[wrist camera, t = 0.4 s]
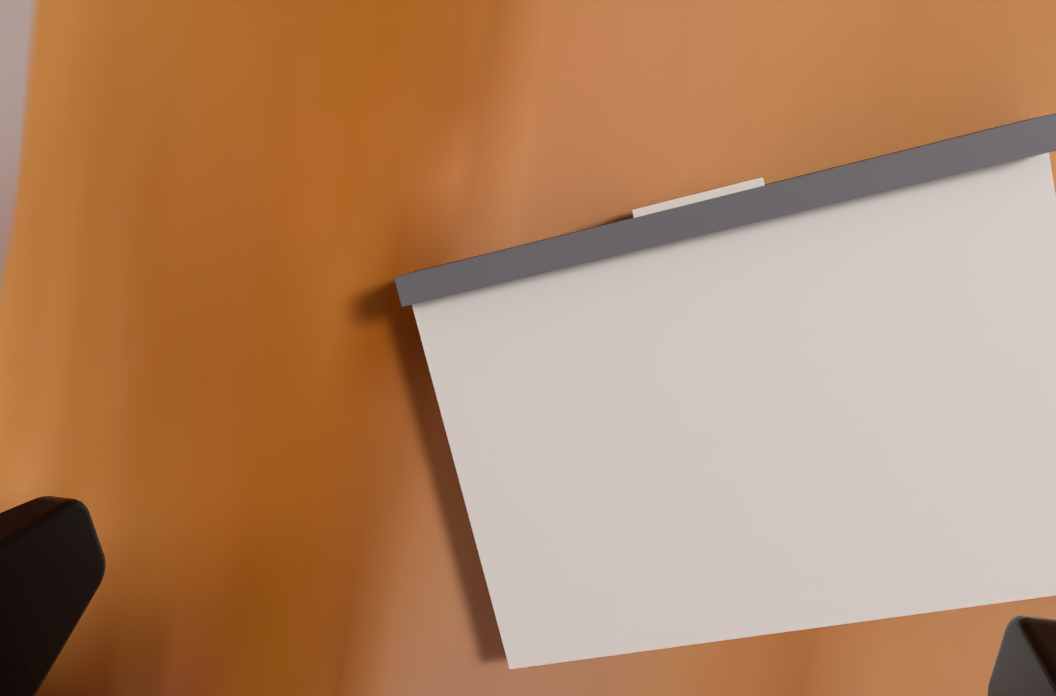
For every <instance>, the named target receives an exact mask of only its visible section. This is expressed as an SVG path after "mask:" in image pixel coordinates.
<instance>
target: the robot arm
mask: <svg viewBox="0 0 1056 696" xmlns="http://www.w3.org/2000/svg"><path fill="white" fill-rule="evenodd" d="M104 572H105V557H104V554H103V551H102V548H101V545H100V542H99V539H98V536H97V533H96V530H95V528H94V525H93V522H92V519H91V516H90V513H89V511H88V509H87V507H86V506H85V505H84V504H83V503H82V502H81V501H78V500H76V499H70V498H62V497H53V496H44V497H39V498H36V499H34V500H31V501H29V502H26V503H24V504H21V505H19V506H16V507H14V508H12V509H9V510H7V511H4V512H2V513H0V696H35V694H36V693H37V691H38V689H39V688H40V686H41V684H42V683H43V681H44V679H45V677H46V676H47V674H48V672H49V671H50V669H51V667H52V665H53V664H54V662H55V660H56V659H57V657H58V655H59V654H60V652H61V650H62V648H63V647H64V645H65V643H66V642H67V640H68V638H69V636H70V635H71V633H72V631H73V630H74V628H75V626H76V625H77V623H78V621H79V619H80V618H81V616H82V614H83V613H84V611H85V609H86V607H87V606H88V604H89V602H90V601H91V599H92V597H93V596H94V594H95V592H96V590H97V589H98V587H99V585H100V583H101V581H102V579H103V576H104ZM988 696H1056V620H1055V619H1047V618H1039V617H1031V616H1017V617H1014V618H1012V619H1011V621H1010V622H1009V623H1008V625H1007V627H1006V630H1005V633H1004V636H1003V640H1002V643H1001V646H1000V649H999V653H998V656H997V659H996V662H995V666H994V669H993V672H992V675H991V679H990V682H989V688H988Z"/></svg>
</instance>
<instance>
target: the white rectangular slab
mask: <svg viewBox="0 0 1056 696" xmlns="http://www.w3.org/2000/svg"><path fill="white" fill-rule="evenodd" d="M1052 151H1056V113H1055V114H1051V115H1046V116H1041V117H1037V118H1032V119H1028V120H1023V121H1019V122H1015V123H1011V124H1007V125H1003V126H999V127H995V128H991V129H987V130H983V131H979V132H975V133H971V134H967V135H963V136H959V137H955V138H951V139H947V140H943V141H939V142H935V143H931V144H927V145H923V146H919V147H915V148H910V149H906V150H902V151H898V152H894V153H890V154H886V155H882V156H878V157H874V158H870V159H866V160H862V161H858V162H854V163H850V164H846V165H842V166H838V167H834V168H830V169H826V170H822V171H818V172H814V173H810V174H806V175H802V176H798V177H794V178H790V179H786V180H782V181H778V182H773V183H769V184H765V185H764V180H763V177H762V178H757V179H753V180H750V181H746V182H742V183H738V184H734V185H730V186H726V187H722V188H718V189H714V190H710V191H706V192H702V193H698V194H694V195H690V196H686V197H682V198H678V199H674V200H670V201H666V202H662V203H658V204H654V205H650V206H646V207H642V208H638V209H634V210H632V212H633V216H634V217H632V218H628V219H624V220H620V221H616V222H612V223H608V224H604V225H600V226H596V227H592V228H588V229H584V230H580V231H576V232H572V233H568V234H564V235H560V236H556V237H552V238H548V239H544V240H540V241H536V242H532V243H528V244H524V245H520V246H516V247H512V248H508V249H504V250H500V251H495V252H491V253H487V254H483V255H479V256H475V257H471V258H467V259H463V260H459V261H455V262H451V263H447V264H443V265H439V266H435V267H431V268H427V269H423V270H419V271H415V272H411V273H408V274H405V275H401V276H398V277H394V280H395V283H396V287H397V291H398V294H399V298H400V302H401V305H402V307H404V306H409V305H412V308H413V311H414V315H415V319H416V322H417V326H418V330H419V334H420V337H421V341H422V345H423V348H424V352H425V356H426V360H427V363H428V367H429V371H430V375H431V378H432V382H433V386H434V389H435V393H436V397H437V401H438V404H439V408H440V412H441V415H442V419H443V423H444V427H445V430H446V434H447V438H448V441H449V445H450V449H451V453H452V456H453V460H454V464H455V468H456V471H457V475H458V479H459V482H460V486H461V490H462V494H463V497H464V501H465V505H466V508H467V512H468V516H469V520H470V523H471V527H472V531H473V535H474V538H475V542H476V546H477V549H478V553H479V557H480V561H481V564H482V568H483V572H484V575H485V579H486V583H487V587H488V590H489V594H490V598H491V601H492V605H493V609H494V613H495V616H496V620H497V624H498V628H499V631H500V635H501V639H502V642H503V646H504V650H505V654H506V657H507V661H508V665H509V668H510V669H515V668H523V667H530V666H538V665H545V664H552V663H560V662H567V661H574V660H582V659H589V658H597V657H604V656H611V655H619V654H626V653H633V652H641V651H648V650H656V649H663V648H670V647H678V646H685V645H692V644H700V643H707V642H715V641H722V640H729V639H737V638H744V637H752V636H759V635H766V634H774V633H781V632H788V631H796V630H803V629H811V628H818V627H825V626H833V625H840V624H847V623H855V622H862V621H870V620H877V619H884V618H892V617H899V616H906V615H914V614H921V613H929V612H936V611H943V610H951V609H958V608H966V607H973V606H980V605H988V604H995V603H1002V602H1010V601H1017V600H1025V599H1032V598H1039V597H1047V596H1054V595H1056V195H1055V189H1054V183H1053V176H1052V170H1051V163H1050V157H1049V152H1052Z"/></svg>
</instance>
